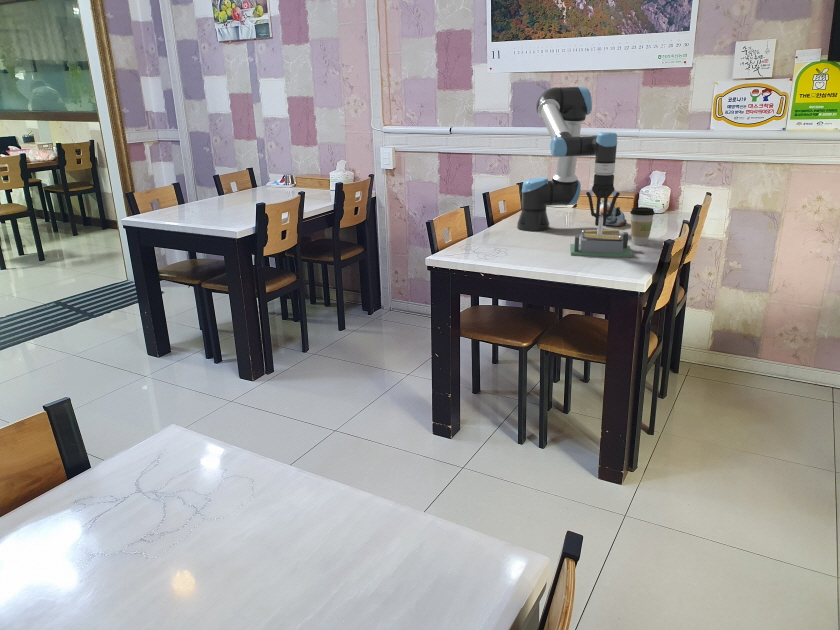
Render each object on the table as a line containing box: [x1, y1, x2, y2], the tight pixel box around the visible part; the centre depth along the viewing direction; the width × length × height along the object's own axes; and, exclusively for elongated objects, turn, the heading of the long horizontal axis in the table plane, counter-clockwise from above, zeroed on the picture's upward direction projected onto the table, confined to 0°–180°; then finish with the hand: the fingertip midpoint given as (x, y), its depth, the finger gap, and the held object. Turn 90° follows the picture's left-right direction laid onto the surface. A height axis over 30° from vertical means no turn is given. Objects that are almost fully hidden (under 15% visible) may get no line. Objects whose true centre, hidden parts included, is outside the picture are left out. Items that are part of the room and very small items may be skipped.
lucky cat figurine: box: [599, 200, 628, 227], centre depth 316 cm, size 15×12×14 cm
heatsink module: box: [569, 231, 634, 258], centre depth 266 cm, size 24×15×7 cm, turn 78°
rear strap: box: [581, 228, 620, 235], centre depth 269 cm, size 15×4×2 cm, turn 78°
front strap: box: [584, 233, 623, 241], centre depth 261 cm, size 15×4×2 cm, turn 78°
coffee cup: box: [629, 206, 656, 246], centre depth 277 cm, size 10×10×15 cm
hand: (599, 233), depth 261 cm, fingers closed
